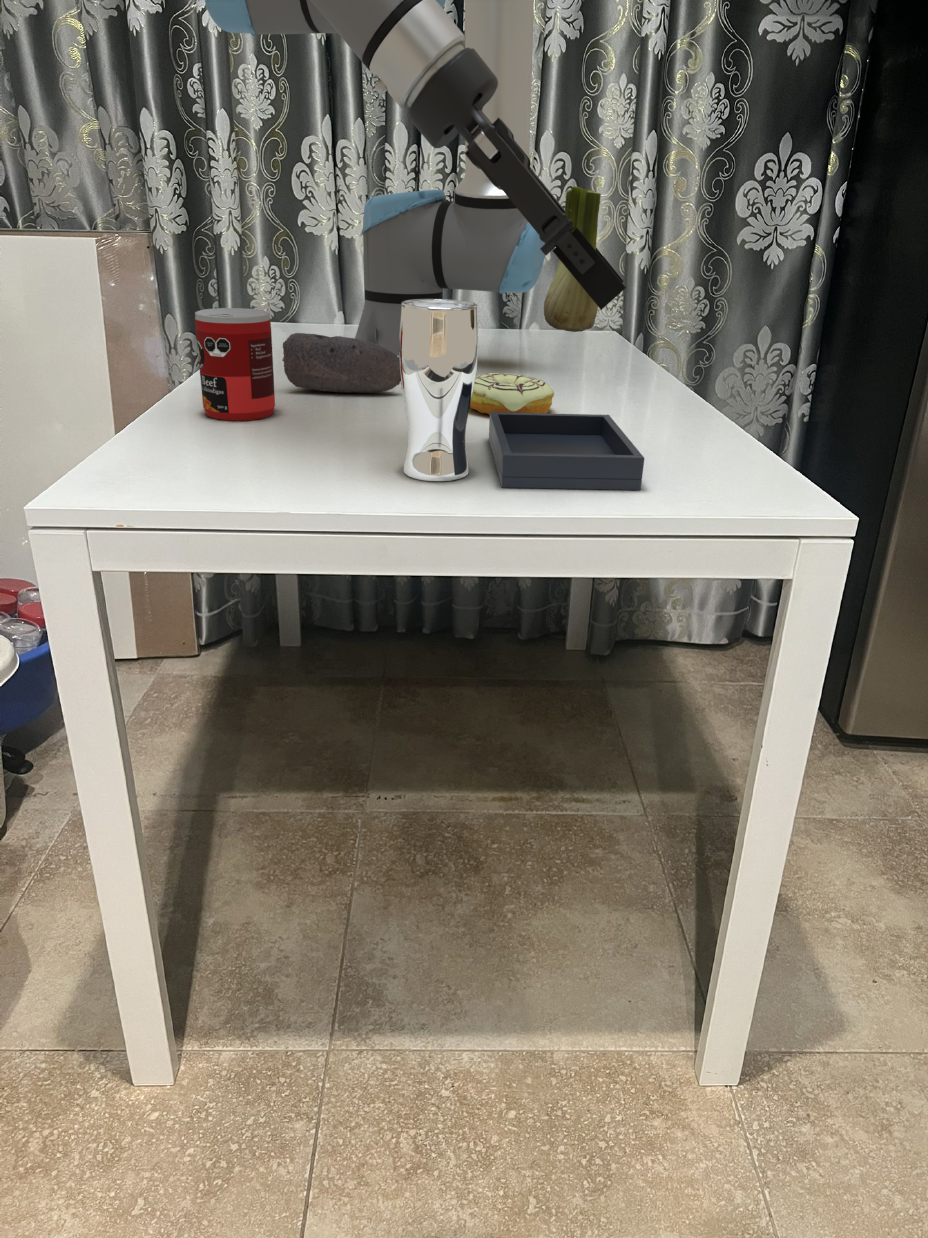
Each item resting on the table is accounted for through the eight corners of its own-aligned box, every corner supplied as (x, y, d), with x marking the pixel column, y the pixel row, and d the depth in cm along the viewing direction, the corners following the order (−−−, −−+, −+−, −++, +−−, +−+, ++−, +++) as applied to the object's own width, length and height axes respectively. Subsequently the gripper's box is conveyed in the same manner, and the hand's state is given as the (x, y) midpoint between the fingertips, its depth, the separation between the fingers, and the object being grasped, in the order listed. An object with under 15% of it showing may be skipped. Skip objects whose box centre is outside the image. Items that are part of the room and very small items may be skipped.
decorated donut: (522, 424, 103) (524, 391, 101) (445, 410, 108) (446, 377, 106) (567, 409, 110) (569, 377, 109) (493, 396, 116) (495, 366, 114)
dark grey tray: (488, 440, 96) (489, 411, 94) (606, 442, 96) (609, 414, 95) (501, 487, 81) (503, 454, 80) (640, 490, 82) (644, 457, 80)
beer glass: (414, 486, 80) (415, 309, 74) (388, 465, 86) (387, 298, 80) (485, 479, 83) (493, 307, 76) (455, 459, 89) (460, 297, 82)
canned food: (198, 408, 105) (189, 308, 100) (267, 404, 108) (261, 307, 103) (209, 423, 98) (200, 317, 94) (282, 418, 101) (277, 316, 97)
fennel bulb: (594, 337, 80) (608, 187, 75) (539, 333, 81) (549, 185, 76) (596, 328, 86) (610, 188, 80) (544, 325, 86) (554, 185, 81)
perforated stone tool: (407, 391, 117) (407, 335, 114) (400, 399, 112) (400, 341, 109) (293, 384, 118) (291, 329, 115) (282, 392, 114) (278, 335, 111)
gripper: (423, 121, 86) (581, 311, 91) (382, 104, 69) (578, 338, 74) (481, 57, 83) (641, 257, 88) (453, 23, 66) (652, 273, 72)
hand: (612, 294), depth 81 cm, fingers closed on fennel bulb, 6 cm apart
